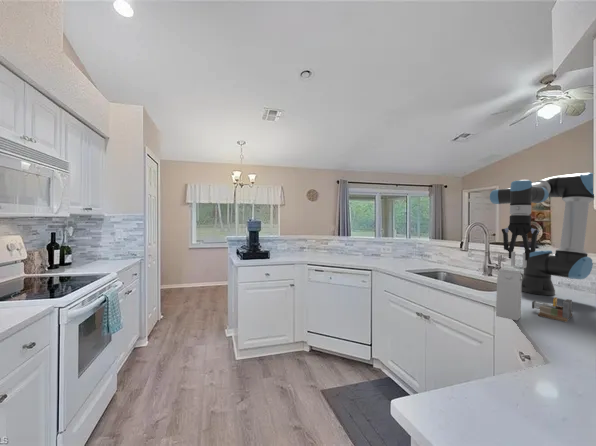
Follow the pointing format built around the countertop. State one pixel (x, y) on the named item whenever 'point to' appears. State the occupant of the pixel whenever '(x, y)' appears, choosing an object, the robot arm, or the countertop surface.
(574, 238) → the robot arm
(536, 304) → the plunger
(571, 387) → the countertop surface
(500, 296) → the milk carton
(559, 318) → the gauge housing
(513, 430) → the countertop surface
